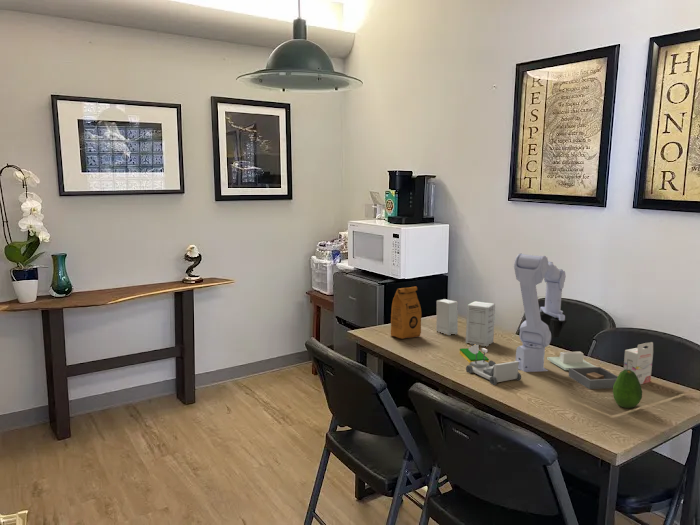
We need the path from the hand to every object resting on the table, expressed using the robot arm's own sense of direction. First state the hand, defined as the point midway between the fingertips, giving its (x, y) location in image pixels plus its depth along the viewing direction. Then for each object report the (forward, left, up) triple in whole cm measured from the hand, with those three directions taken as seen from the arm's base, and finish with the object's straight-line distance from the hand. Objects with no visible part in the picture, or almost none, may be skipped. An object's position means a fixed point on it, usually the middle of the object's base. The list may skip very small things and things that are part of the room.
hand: (550, 334), depth 207 cm
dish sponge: (-29, +4, -11) cm, 31 cm away
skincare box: (-27, +40, -10) cm, 49 cm away
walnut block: (+2, -26, -9) cm, 28 cm away
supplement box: (-18, +24, -10) cm, 32 cm away
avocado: (-1, -46, -10) cm, 47 cm away
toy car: (-30, -14, -11) cm, 35 cm away
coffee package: (-47, +36, -10) cm, 60 cm away
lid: (+4, -9, -9) cm, 13 cm away
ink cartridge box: (+17, -27, -10) cm, 34 cm away
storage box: (+2, -26, -10) cm, 28 cm away
